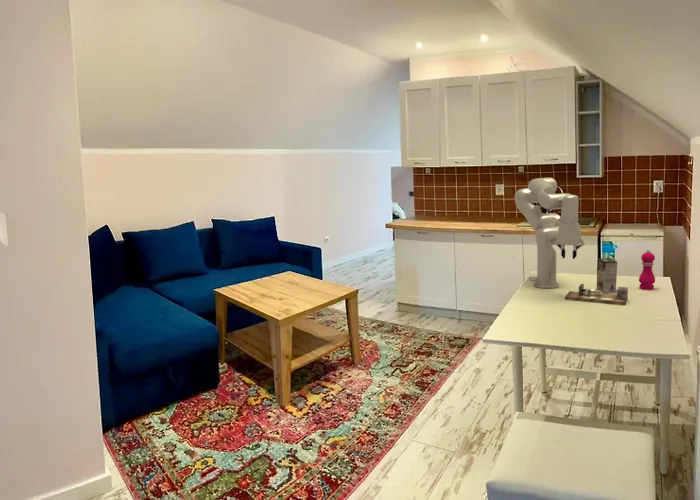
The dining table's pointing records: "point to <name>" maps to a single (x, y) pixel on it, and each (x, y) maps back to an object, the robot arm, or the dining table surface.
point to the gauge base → (601, 297)
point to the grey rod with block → (581, 290)
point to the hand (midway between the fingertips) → (568, 257)
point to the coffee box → (606, 275)
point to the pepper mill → (647, 271)
